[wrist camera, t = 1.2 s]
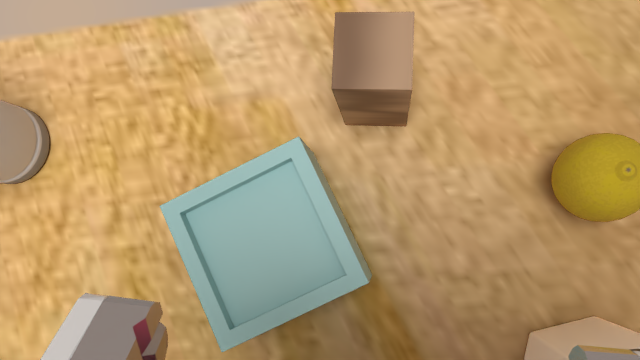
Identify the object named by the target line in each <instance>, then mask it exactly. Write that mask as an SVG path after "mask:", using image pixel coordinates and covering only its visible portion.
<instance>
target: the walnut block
mask: <svg viewBox="0 0 640 360" xmlns="http://www.w3.org/2000/svg"><path fill="white" fill-rule="evenodd" d="M413 40H414V12H336V13H335V27H334V50H333V72H332V91H333V93H334V96H335V99H336V101H337V104H338V106H339V109H340V112H341V114H342V117H343V119H344V122H345V125H369V126H406V124H407V118H408V112H409V105H410V99H411V93H412V74H413Z"/></svg>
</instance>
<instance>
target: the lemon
mask: <svg viewBox="0 0 640 360" xmlns="http://www.w3.org/2000/svg"><path fill="white" fill-rule="evenodd" d="M551 179H552V188H553V191H554V194H555V196H556V198H557V199H558V201H559V202H560V204H561V205H562V206H563V207H564V208H565V209H566V210H568V211H569V212H570V213H572V214H574V215H576V216H577V217H579V218H582V219H586V220H589V221H597V222H608V221H614V220H619V219H622V218H625V217H627V216H629V215H631V214H633V213H635V212H636V211H638V210H639V209H640V144H639V143H638V142H637V141H635V140H634V139H631V138H628V137H626V136H623V135H618V134H610V133H603V134H593V135H589V136H587V137H584V138H581V139H578V140H576V141H575V142H573V143H572V144H570V145H569V146H567V147H566V148H565V149H564V151H563V152H562V153H561V154H560V155H559V156H558V158H557V160H556V162H555V164H554V166H553V171H552V176H551Z"/></svg>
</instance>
